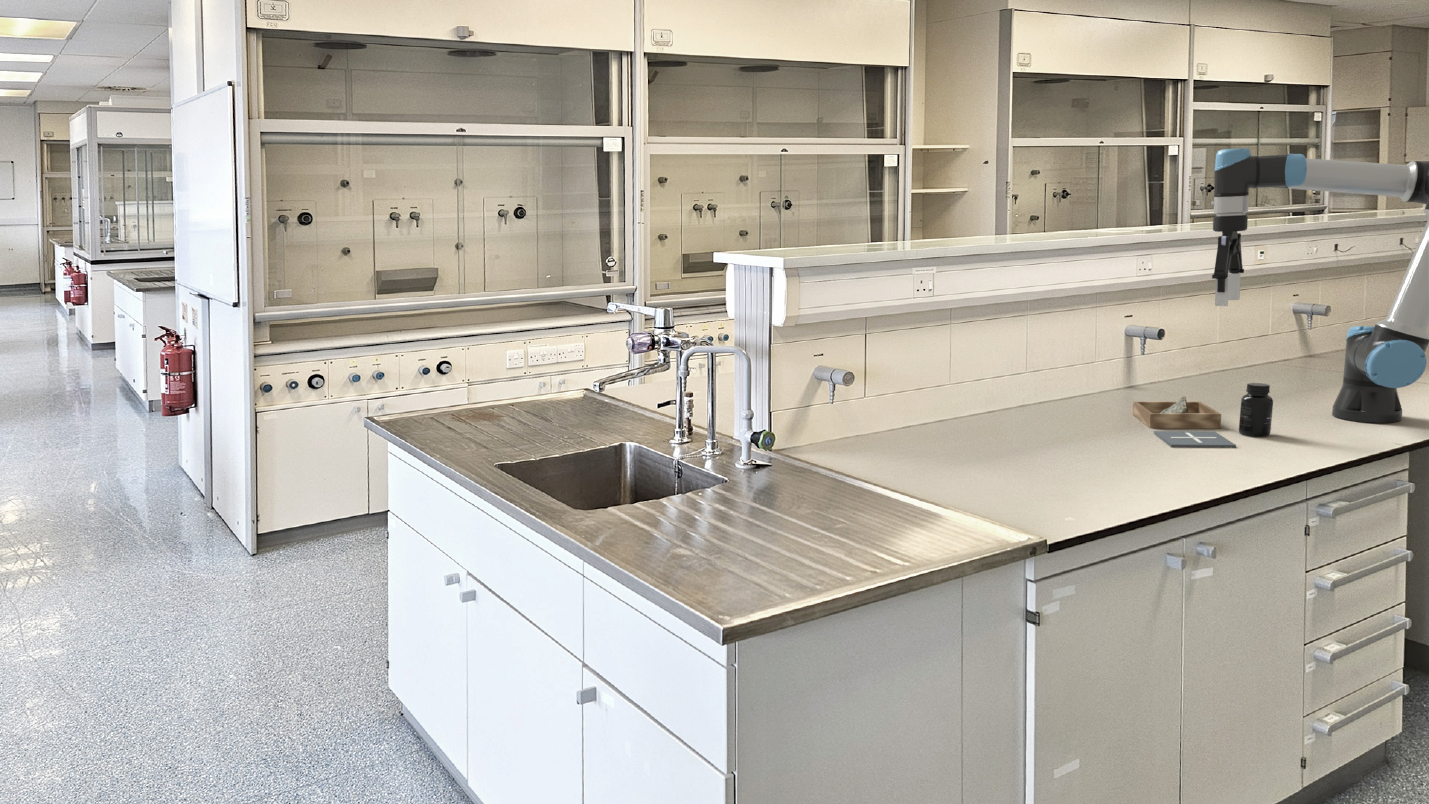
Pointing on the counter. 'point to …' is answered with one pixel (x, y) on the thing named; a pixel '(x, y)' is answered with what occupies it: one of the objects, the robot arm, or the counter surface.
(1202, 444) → the rest mat
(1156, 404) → the tray
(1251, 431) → the supplement bottle
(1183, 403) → the rock sample
